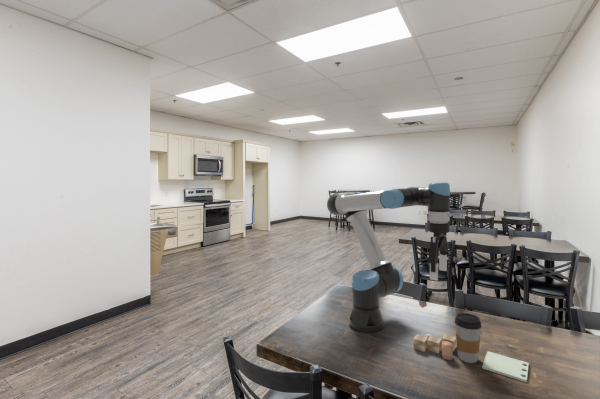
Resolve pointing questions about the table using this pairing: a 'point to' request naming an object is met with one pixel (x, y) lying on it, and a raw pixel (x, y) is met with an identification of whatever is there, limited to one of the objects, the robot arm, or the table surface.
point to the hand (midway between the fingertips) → (438, 275)
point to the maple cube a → (420, 343)
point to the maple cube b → (434, 344)
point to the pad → (506, 366)
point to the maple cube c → (450, 340)
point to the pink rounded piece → (447, 350)
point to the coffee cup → (468, 337)
